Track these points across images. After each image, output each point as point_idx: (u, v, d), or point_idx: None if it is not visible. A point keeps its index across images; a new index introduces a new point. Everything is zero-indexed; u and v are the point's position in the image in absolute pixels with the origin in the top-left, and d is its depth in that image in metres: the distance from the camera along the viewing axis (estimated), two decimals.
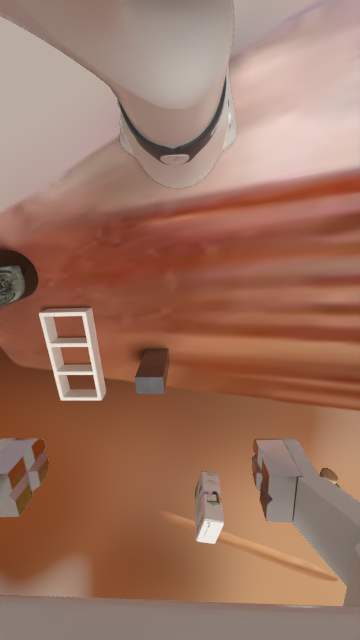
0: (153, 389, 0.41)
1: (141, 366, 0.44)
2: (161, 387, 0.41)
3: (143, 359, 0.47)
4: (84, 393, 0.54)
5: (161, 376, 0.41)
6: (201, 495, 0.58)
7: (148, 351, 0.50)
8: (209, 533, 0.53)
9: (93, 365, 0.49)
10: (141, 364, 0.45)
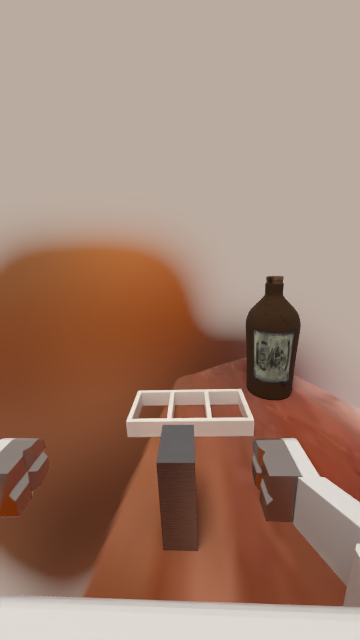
0: (168, 446, 0.23)
1: None
2: (171, 458, 0.21)
3: None
4: (137, 412, 0.43)
5: (194, 462, 0.21)
6: None
7: None
8: None
9: (180, 419, 0.38)
10: None
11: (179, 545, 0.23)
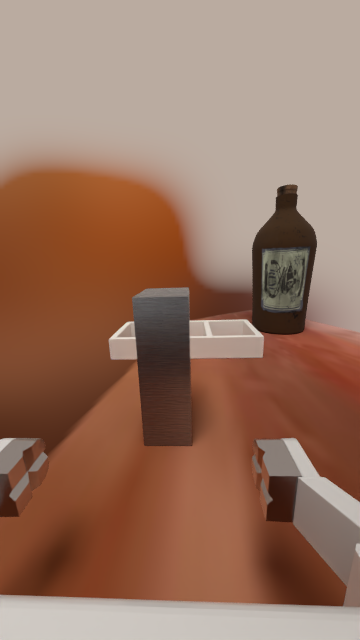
0: (151, 293, 0.16)
1: None
2: (154, 296, 0.15)
3: None
4: None
5: (188, 299, 0.14)
6: None
7: None
8: None
9: None
10: None
11: (166, 437, 0.17)
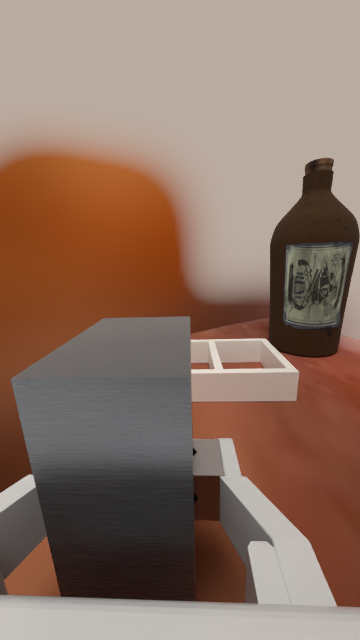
0: (95, 344, 0.06)
1: None
2: (88, 367, 0.05)
3: None
4: None
5: None
6: None
7: (194, 525, 0.11)
8: None
9: None
10: None
11: None
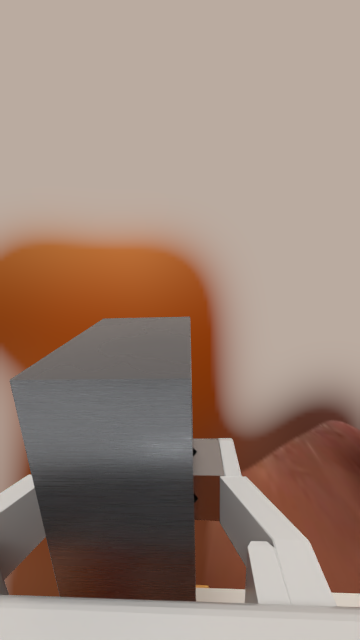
0: (94, 345, 0.06)
1: None
2: (88, 368, 0.05)
3: None
4: None
5: None
6: None
7: None
8: None
9: None
10: None
11: None
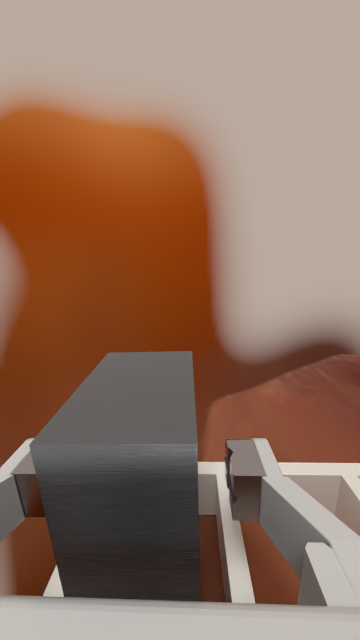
0: (104, 394, 0.07)
1: None
2: (101, 428, 0.05)
3: None
4: None
5: None
6: None
7: None
8: None
9: None
10: None
11: None
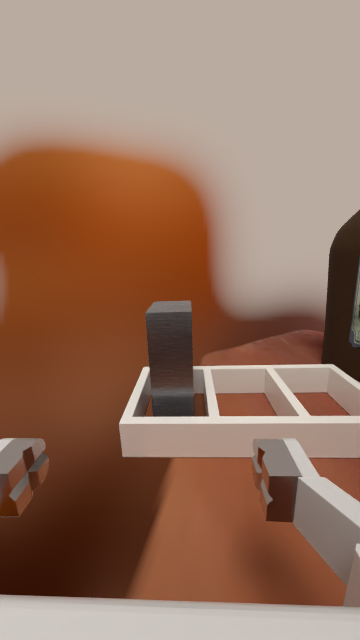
0: (160, 307, 0.19)
1: None
2: (163, 311, 0.18)
3: None
4: (142, 404, 0.22)
5: None
6: None
7: None
8: None
9: (240, 420, 0.17)
10: None
11: None
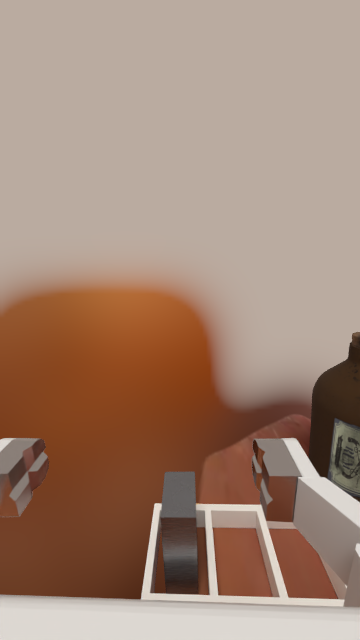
0: (171, 498, 0.24)
1: None
2: (174, 512, 0.23)
3: None
4: (155, 557, 0.27)
5: None
6: None
7: None
8: None
9: (234, 601, 0.22)
10: None
11: (181, 589, 0.25)
